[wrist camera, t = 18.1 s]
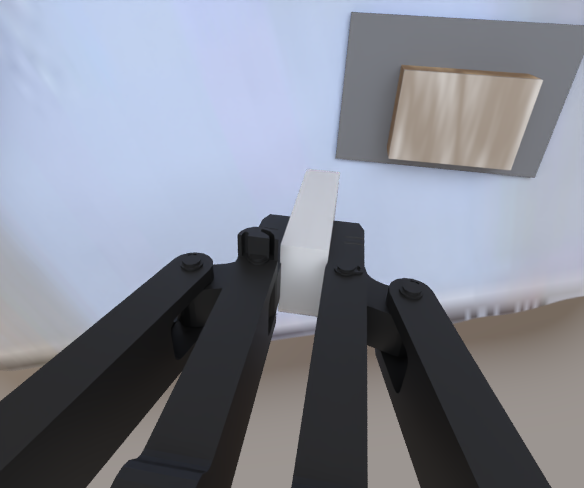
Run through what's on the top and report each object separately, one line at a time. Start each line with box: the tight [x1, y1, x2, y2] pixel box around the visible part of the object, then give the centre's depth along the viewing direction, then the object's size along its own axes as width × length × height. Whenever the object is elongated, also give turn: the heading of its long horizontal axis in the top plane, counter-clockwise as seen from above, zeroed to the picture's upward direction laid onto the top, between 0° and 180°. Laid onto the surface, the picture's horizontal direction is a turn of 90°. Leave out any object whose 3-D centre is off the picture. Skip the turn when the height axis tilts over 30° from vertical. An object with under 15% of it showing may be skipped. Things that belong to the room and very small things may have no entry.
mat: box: [336, 12, 584, 178], centre depth 34 cm, size 18×12×1 cm, turn 87°
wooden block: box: [387, 65, 543, 170], centre depth 33 cm, size 3×7×10 cm
